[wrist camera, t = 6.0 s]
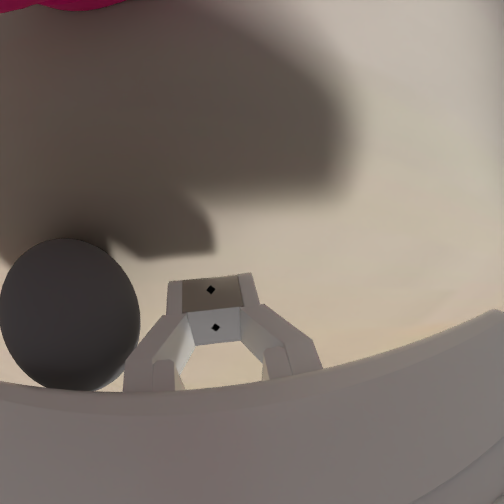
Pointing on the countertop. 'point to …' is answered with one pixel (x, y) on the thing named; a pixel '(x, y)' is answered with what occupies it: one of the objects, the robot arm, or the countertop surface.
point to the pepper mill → (57, 4)
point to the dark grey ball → (69, 315)
